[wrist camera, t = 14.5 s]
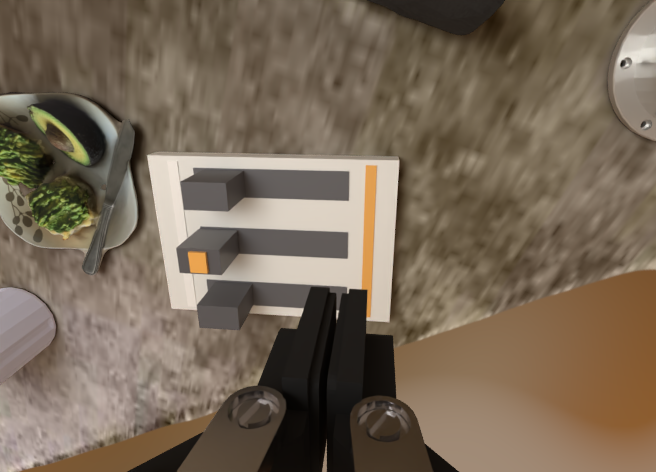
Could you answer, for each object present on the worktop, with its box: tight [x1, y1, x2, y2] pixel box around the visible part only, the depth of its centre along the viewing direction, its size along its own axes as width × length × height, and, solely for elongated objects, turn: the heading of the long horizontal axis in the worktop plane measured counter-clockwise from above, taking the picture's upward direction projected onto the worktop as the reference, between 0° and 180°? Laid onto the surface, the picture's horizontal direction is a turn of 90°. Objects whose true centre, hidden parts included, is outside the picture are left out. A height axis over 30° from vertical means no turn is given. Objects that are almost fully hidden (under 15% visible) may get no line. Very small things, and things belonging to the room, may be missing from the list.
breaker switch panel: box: [147, 152, 399, 330], centre depth 40 cm, size 24×17×7 cm
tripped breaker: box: [176, 229, 239, 275], centre depth 39 cm, size 4×2×5 cm, turn 90°
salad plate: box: [0, 92, 138, 275], centre depth 42 cm, size 19×18×5 cm
